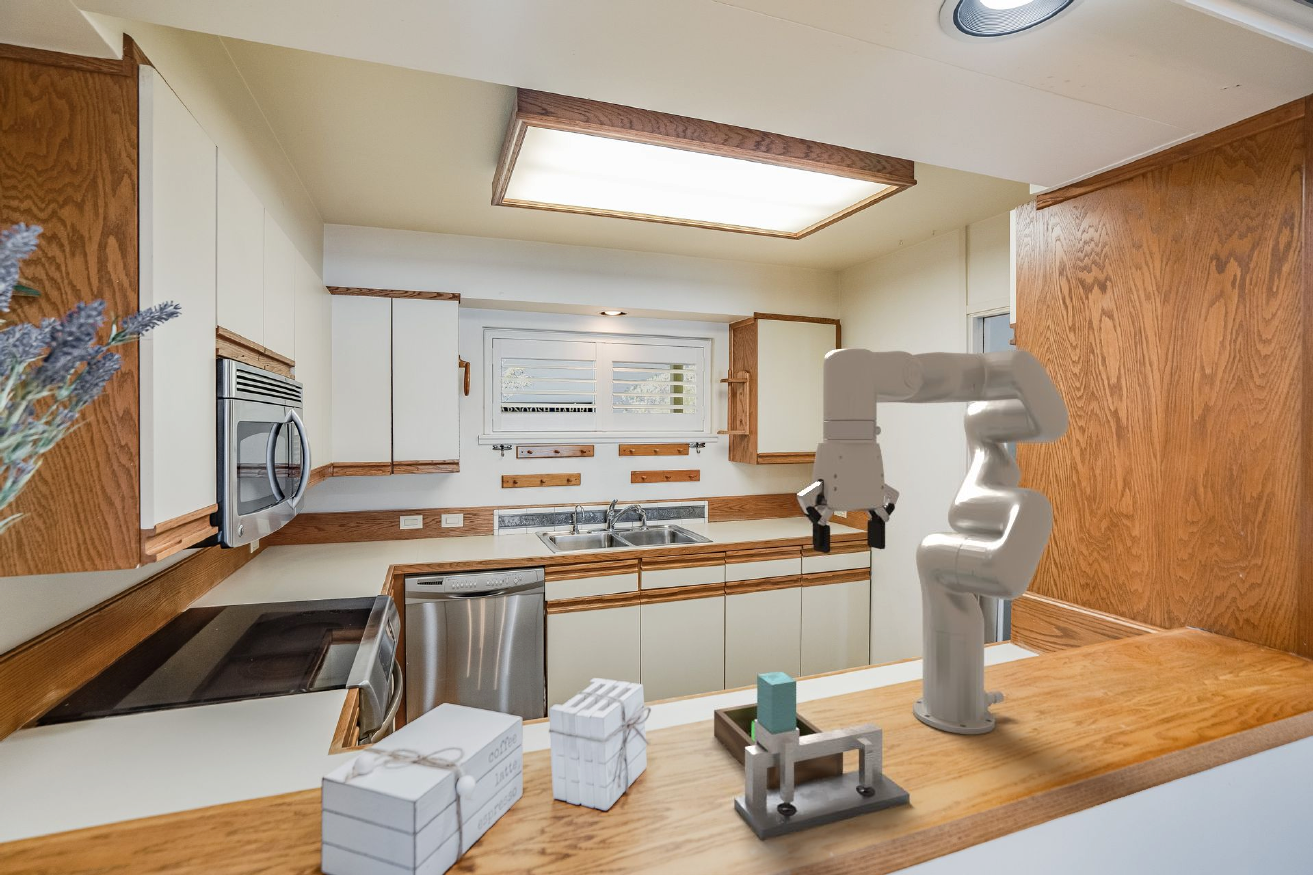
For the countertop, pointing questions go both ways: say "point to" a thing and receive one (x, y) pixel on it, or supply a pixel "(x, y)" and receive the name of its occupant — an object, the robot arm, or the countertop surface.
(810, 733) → the parts tray
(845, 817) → the bolt plate
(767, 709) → the sliding leg
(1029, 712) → the countertop surface
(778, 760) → the metal bridge frame
